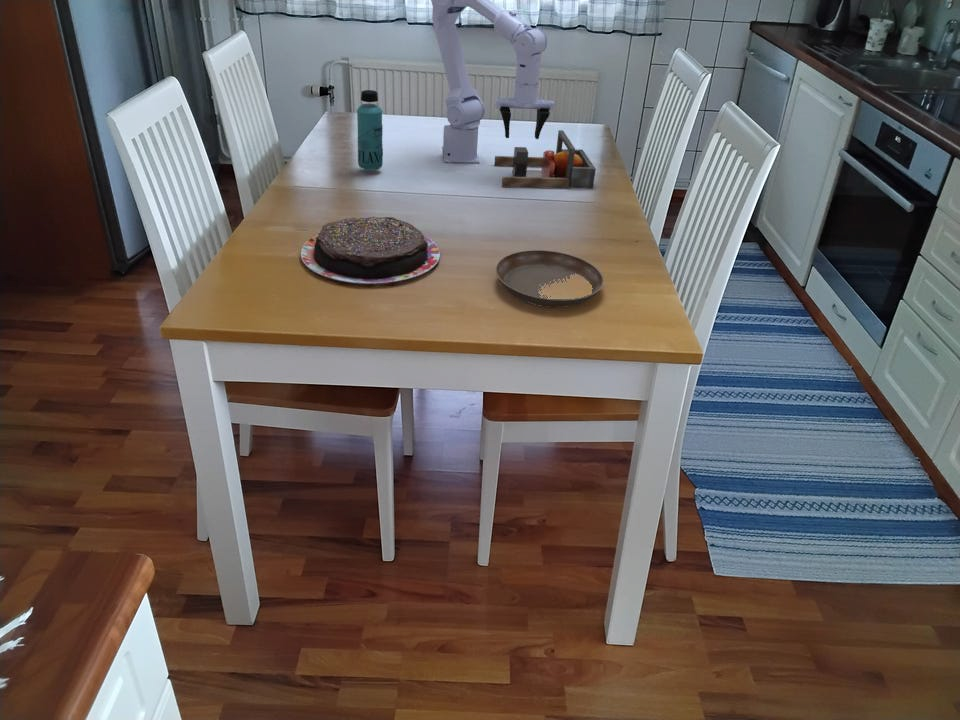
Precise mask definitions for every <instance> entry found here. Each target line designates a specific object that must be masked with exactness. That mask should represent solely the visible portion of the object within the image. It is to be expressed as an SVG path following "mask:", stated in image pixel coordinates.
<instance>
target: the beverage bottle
mask: <svg viewBox="0 0 960 720" xmlns="http://www.w3.org/2000/svg"><path fill="white" fill-rule="evenodd" d="M360 94H361V95H360V101H362V102H366V103H363V104H361V105H359V106H358V107H357V109H356V114H357V115H356V117H357V118H356V121H357V139H356V140H357V142H356V144H357V165H358V167H359V168H361V169H363V170H369V171H372V170H379V169H381V168H383V164H384V161H383V159H384V158H383V157H384V149H383V109H382V108H381V107H380V106H379V105H378V104H375V103H376V102H378V101H379V96H378V92H377V91H376V90H373V89H372V90H370V89H365V90H362V91H361V93H360Z"/></svg>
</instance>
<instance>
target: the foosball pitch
mask: <svg viewBox="0 0 960 720" xmlns="http://www.w3.org/2000/svg"><path fill="white" fill-rule="evenodd" d="M557 133H558V134H557V141H556V150H555V154H556V153H559V152H562V151H568V152H569V155H568V162H567V170H566V178H560V177H559V178H555V177H554V178H545V177H514V176H502V182H501V187H502V188H521V189H524V188H525V189H529V188H530V189H569V188H578V189H579V188H581V189H582V188H583V189H584V188H585V189H593V188H594V183H595V177H596V171H597V170H596V167H595V166H594V164H593V163H592V161H591V160H590V158H589V157H588V155H587V154H586V152H585V151H584V150H583V149H577V148H575V146H574V145H573V144H572V142H571V140H570V139H569V137H568V136H567V134H566V132H565V131H564V130H561V129H559V130H558V131H557ZM563 144H564V145H565V147H566V148H565V149H564V148H563ZM574 154H576V155H578V156H579V157H580V158H581V159H582V162H583V166H582V167H573V161H574ZM513 160H514V155H512V156H509V155H494V163H493V165H494V167H513ZM552 160H553V159H552ZM542 162H543V156H528V162H527V168H530V167H531V168H542Z"/></svg>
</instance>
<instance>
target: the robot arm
mask: <svg viewBox="0 0 960 720" xmlns="http://www.w3.org/2000/svg"><path fill="white" fill-rule="evenodd" d="M431 6H432V15H431V16H432V19H431V20H432V25H433V28H434V32H435V36H436V40H437V44H438V48H439V51H440V56H441V60H442V64H443V68H444V72H445V76H446V79H447V84H448V86H449V87H448V88H449V93H448V94H447V97H446V99H445V103H446V105H445V106H446V118H447V121H448V122H449V124H446V125H444V126H443V136H442V137H443V140H442V141H443V142H442V144H443V145H442V147H441V148H442V151H441V153H442V156H443V161H444V162H445V163H466V164H470V163H471V164H479V163H480V158H479V156H478V140H479V126H480V124H481V120H483V118H485V117H484V116H485V114H486V108H485V104H484V102H483V101H482V99H481V98H480V95H479V91H478V90H477V89H475V88H474V87H473V86H472V85H471V82H470V77H469V73H468V70H467V65H466V63H465V62H466V61H465V58H464V53H463V49H462V45H461V41H460V37H459V33H458V29H457V24H456V21H457V20H458V18H459V16H460V14H461V13H462V12H464V10H466V8H467V7H469V8H470V9H472V10H473V11H475V12H477V13H478V14H479V15H480V16H482V17H484V18H485V19H487V20H488V21H489V22H491V23H492V24H493V28H494V32H495V33H497V34H498V35H499V36H501V37H502V38H503V39H504V40H506V41H507V42H508V43H509V44H511V45H512V46H513V49H514V52H515V54H516V60H515V61H516V70H515V79H514V80H515V82H514V93H513V97H511V98H510V97H509V98H508V97H507V98H495V108H496V109H498V110H499V112H500V114H501V118H502V121H503V126H504V136H505V139H509V138H510V126H511V125H510V123H511V115H512V113H511V109H521V110H536V122H535V129H534V139H536V140H539V138H540V135H541V132H542V129H543V127H544V125H545V123H546V121H548V119H549V117H550V115H551V113H550V111H555V110H554V109H555V102H554V101H553V100H545V99H539V98H538V92H539V81H540V73H541V63H542V53H544V52H545V50H546V49H547V45H548V39H547V38H548V37H547V35H546V34H545V32H544V31H543V30H542V29H541V28H540V27H535V28H533V27H531V26H532V25H531V24H530V23H529V22H525V21H524V20H522V19H521V18H520V17H518V15H517V12H516V11H515V10H513V9H511V10H509V9H505V10H501V9H500V8H499V7H498V6H497V5H496V4H495V3H494V2H492V0H431Z"/></svg>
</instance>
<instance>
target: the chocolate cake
mask: <svg viewBox="0 0 960 720" xmlns="http://www.w3.org/2000/svg"><path fill="white" fill-rule="evenodd" d="M440 258H441V251H440V248H439V245H437V244H436V242H435V241H433V239H431V238H429V237H427V236H426V235H424V234H423V233H422V231H421V230H419V229H418V228H417V227H415V226H414V225H413V224H411V223H409V222H406V221H405V220H401V219H400V218H399V219H398V218H397V217H392V216H385V217H384V216H383V217H378V216H377V217H376V216H370V217H347V218H345V219H341V220H339V221H332V222H327V223H326V224H323V225H322V227H321V230H320V231H319V233H318V234H316V235H314V236H313V237H311V238H310V239H308V240H306V242H304V244H303V245H302V247H301V248H300V260H301V261H302V262H303V264H304V265H305V267H307V269H308V270H309V271H310V272H312V273H313V274H316V275H318V276H319V277H322V278H324V279H326V280H328V281H330V282H334V283H337V284H340V285H348V284H353V285H357V286H361V287H363V288H366V287H367V288H371V287H375V286H377V285H384V286H389V287H394V286H396V285H398V284H401V282H402V283H405V281H406V282H408V281H411V280H413V279H417V278H418V277H420V276H422V275H424V274H427V273H429V272H430V271H431V270H433V269H435V268H436V267H435V266H437V264H438V263H439V262H440Z"/></svg>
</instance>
